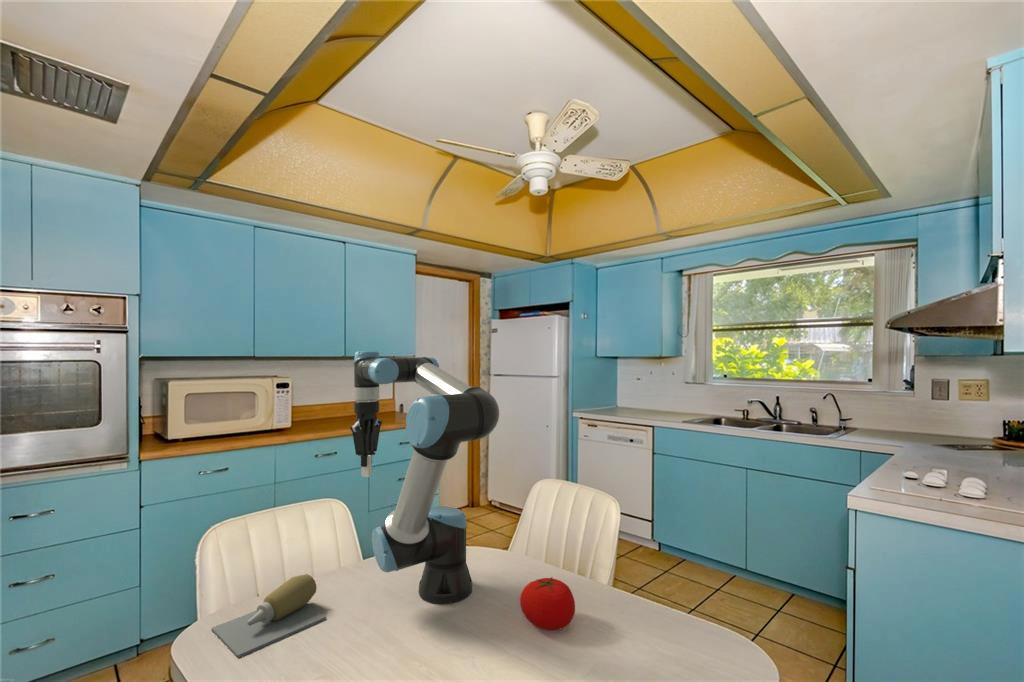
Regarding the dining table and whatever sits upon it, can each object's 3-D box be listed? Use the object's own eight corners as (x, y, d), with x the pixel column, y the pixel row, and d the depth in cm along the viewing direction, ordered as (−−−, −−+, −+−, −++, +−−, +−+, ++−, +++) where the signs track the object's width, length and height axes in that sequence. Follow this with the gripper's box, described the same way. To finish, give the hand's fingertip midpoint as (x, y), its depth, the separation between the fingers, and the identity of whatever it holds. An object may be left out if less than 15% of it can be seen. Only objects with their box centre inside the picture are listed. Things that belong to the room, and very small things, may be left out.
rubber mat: (325, 619, 127) (325, 616, 127) (237, 658, 111) (237, 655, 111) (295, 597, 138) (295, 595, 138) (211, 630, 122) (211, 627, 122)
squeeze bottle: (316, 569, 134) (256, 607, 118) (322, 599, 134) (263, 641, 118) (296, 569, 137) (235, 605, 121) (302, 598, 137) (241, 638, 121)
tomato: (586, 623, 125) (586, 582, 125) (554, 646, 116) (554, 601, 116) (542, 603, 135) (542, 565, 135) (510, 622, 126) (510, 581, 126)
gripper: (369, 398, 162) (369, 470, 162) (342, 402, 150) (342, 480, 150) (389, 398, 159) (389, 472, 159) (363, 403, 147) (363, 483, 147)
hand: (366, 476), depth 154 cm, fingers closed
